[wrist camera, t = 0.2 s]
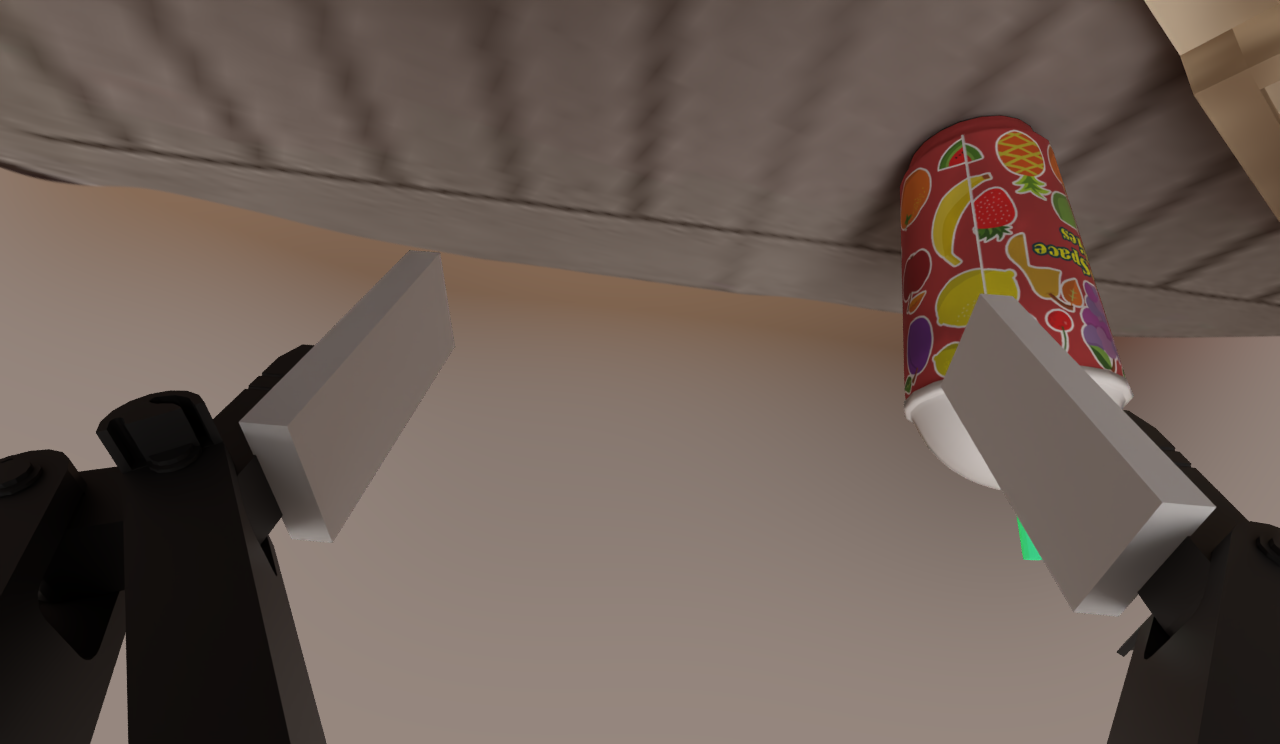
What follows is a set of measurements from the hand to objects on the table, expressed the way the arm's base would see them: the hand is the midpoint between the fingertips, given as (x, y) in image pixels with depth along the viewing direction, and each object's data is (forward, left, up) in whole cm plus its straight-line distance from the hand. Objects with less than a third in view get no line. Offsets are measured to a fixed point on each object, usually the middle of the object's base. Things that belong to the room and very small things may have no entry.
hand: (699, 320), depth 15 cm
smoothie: (+11, +14, -16) cm, 24 cm away
